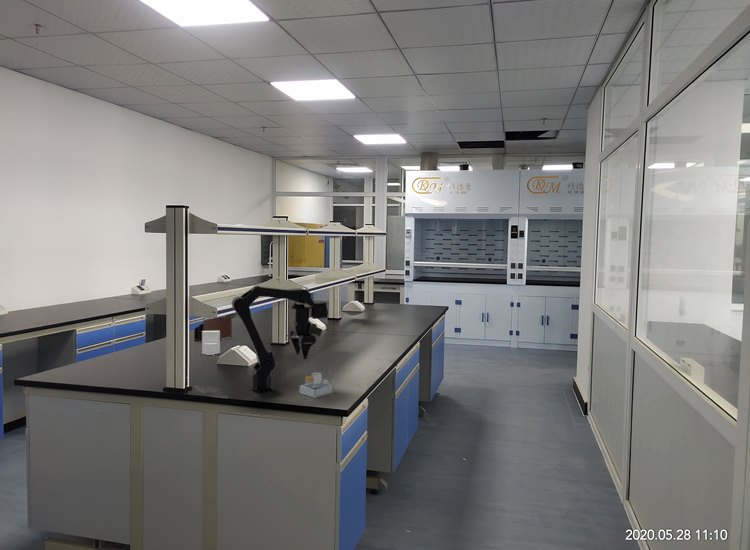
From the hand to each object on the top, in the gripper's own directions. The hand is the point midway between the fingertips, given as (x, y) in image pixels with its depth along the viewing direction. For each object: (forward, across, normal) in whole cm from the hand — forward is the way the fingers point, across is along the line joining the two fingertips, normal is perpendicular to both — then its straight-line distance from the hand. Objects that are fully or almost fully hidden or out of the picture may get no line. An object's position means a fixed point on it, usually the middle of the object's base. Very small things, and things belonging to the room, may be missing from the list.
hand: (301, 356), depth 218 cm
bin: (+12, -12, -2) cm, 17 cm away
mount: (+12, 0, -7) cm, 14 cm away
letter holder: (+13, +118, +16) cm, 119 cm away
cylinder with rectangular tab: (+13, +78, +24) cm, 82 cm away
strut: (+12, -12, -1) cm, 17 cm away
